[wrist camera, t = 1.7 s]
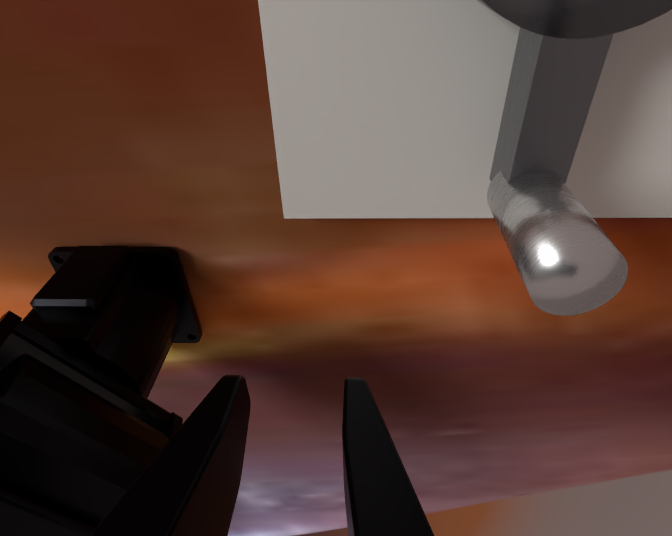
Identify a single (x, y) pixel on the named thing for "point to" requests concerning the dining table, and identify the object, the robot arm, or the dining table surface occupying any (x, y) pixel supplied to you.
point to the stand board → (445, 110)
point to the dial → (556, 148)
